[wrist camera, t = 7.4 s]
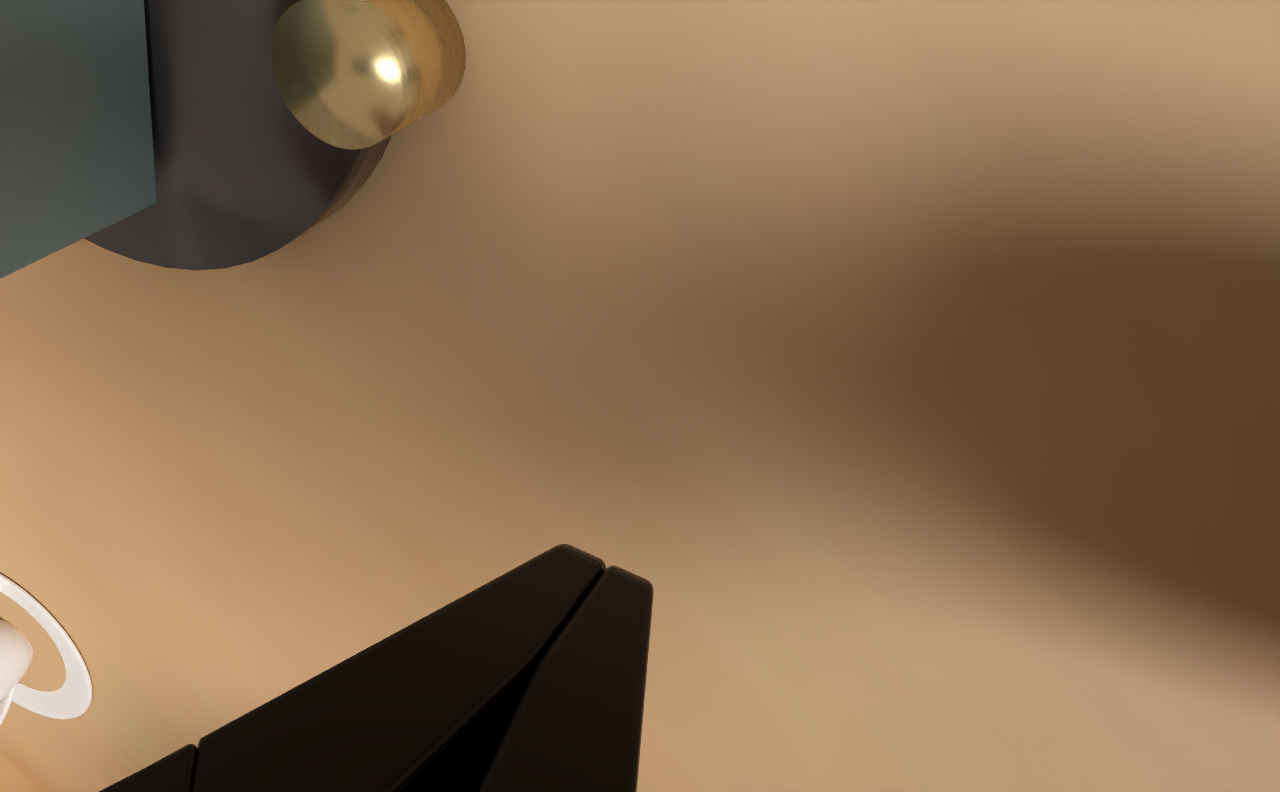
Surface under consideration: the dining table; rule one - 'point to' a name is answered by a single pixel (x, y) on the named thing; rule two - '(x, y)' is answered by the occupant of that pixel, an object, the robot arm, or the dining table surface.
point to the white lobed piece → (8, 655)
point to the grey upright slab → (71, 123)
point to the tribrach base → (276, 117)
